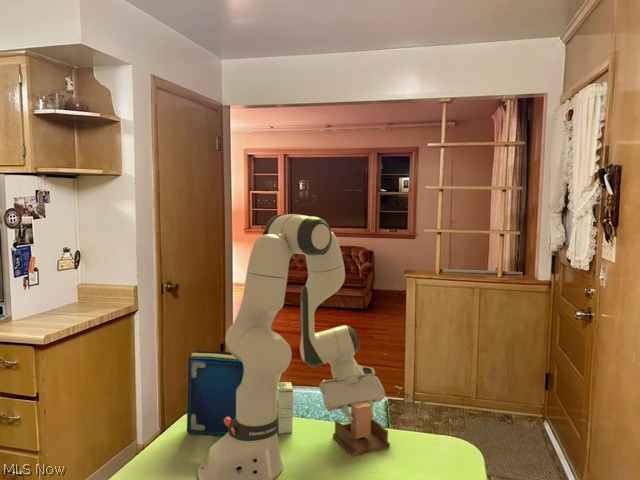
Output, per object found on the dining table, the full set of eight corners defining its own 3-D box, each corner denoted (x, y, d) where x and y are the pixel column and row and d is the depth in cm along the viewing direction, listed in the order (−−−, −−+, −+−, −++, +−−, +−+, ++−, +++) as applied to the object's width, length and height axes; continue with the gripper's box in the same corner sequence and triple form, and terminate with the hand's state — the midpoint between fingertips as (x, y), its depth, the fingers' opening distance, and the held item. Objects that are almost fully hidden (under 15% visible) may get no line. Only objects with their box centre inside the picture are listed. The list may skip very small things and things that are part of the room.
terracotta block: (356, 437, 134) (356, 408, 133) (350, 432, 137) (351, 403, 136) (370, 434, 136) (371, 405, 135) (364, 429, 139) (365, 401, 138)
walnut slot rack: (351, 456, 128) (351, 438, 128) (332, 437, 139) (333, 420, 139) (389, 447, 134) (389, 430, 133) (369, 429, 145) (369, 413, 144)
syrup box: (273, 426, 146) (273, 382, 146) (291, 424, 148) (291, 381, 147) (274, 434, 141) (274, 389, 140) (293, 432, 142) (293, 388, 141)
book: (259, 428, 145) (259, 352, 143) (253, 439, 138) (253, 359, 136) (194, 424, 147) (193, 349, 146) (185, 435, 140) (185, 356, 138)
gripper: (320, 376, 137) (334, 421, 129) (378, 367, 146) (394, 409, 137) (314, 385, 142) (327, 429, 133) (370, 376, 150) (386, 417, 142)
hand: (362, 419), depth 136 cm, fingers closed on terracotta block, 5 cm apart
